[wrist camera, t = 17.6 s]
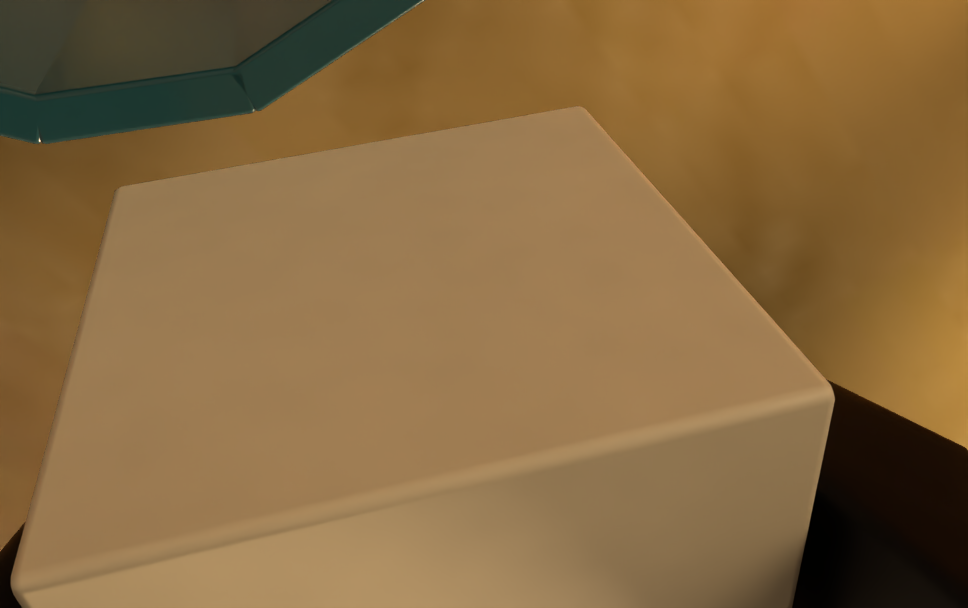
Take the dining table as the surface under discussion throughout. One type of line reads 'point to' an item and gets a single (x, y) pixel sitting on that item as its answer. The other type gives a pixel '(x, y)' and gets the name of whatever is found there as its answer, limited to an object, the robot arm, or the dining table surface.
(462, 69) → the dining table surface
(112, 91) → the saucepan
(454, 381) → the block
